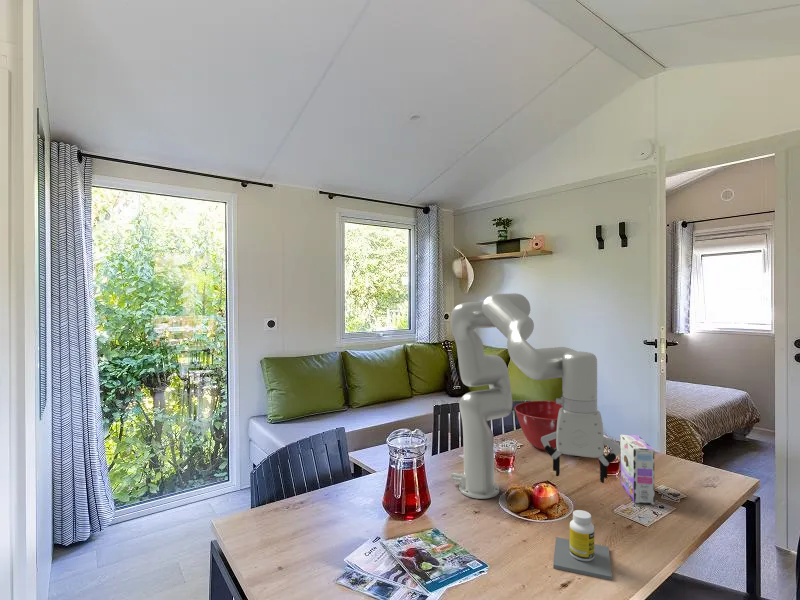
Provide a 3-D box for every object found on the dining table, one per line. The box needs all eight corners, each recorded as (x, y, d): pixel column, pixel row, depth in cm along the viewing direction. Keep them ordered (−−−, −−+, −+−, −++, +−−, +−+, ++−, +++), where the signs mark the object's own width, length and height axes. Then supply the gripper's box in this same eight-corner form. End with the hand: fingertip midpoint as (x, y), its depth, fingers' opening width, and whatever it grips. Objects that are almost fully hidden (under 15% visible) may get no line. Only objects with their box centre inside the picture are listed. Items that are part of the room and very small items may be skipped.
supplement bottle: (592, 565, 98) (592, 522, 98) (567, 557, 101) (567, 516, 101) (596, 552, 103) (595, 511, 103) (572, 546, 106) (571, 506, 106)
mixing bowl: (518, 457, 165) (518, 417, 165) (512, 433, 193) (511, 399, 193) (597, 461, 160) (597, 419, 160) (579, 436, 188) (578, 400, 188)
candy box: (655, 505, 127) (655, 449, 126) (633, 504, 128) (633, 448, 128) (639, 485, 140) (639, 434, 140) (619, 483, 141) (619, 433, 141)
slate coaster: (553, 568, 99) (553, 564, 99) (555, 540, 110) (555, 536, 110) (611, 580, 94) (611, 576, 94) (608, 549, 105) (608, 546, 105)
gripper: (539, 405, 101) (539, 478, 102) (622, 413, 95) (622, 490, 95) (542, 397, 108) (542, 465, 109) (619, 404, 102) (619, 476, 102)
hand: (579, 477), depth 102 cm, fingers open, 9 cm apart
